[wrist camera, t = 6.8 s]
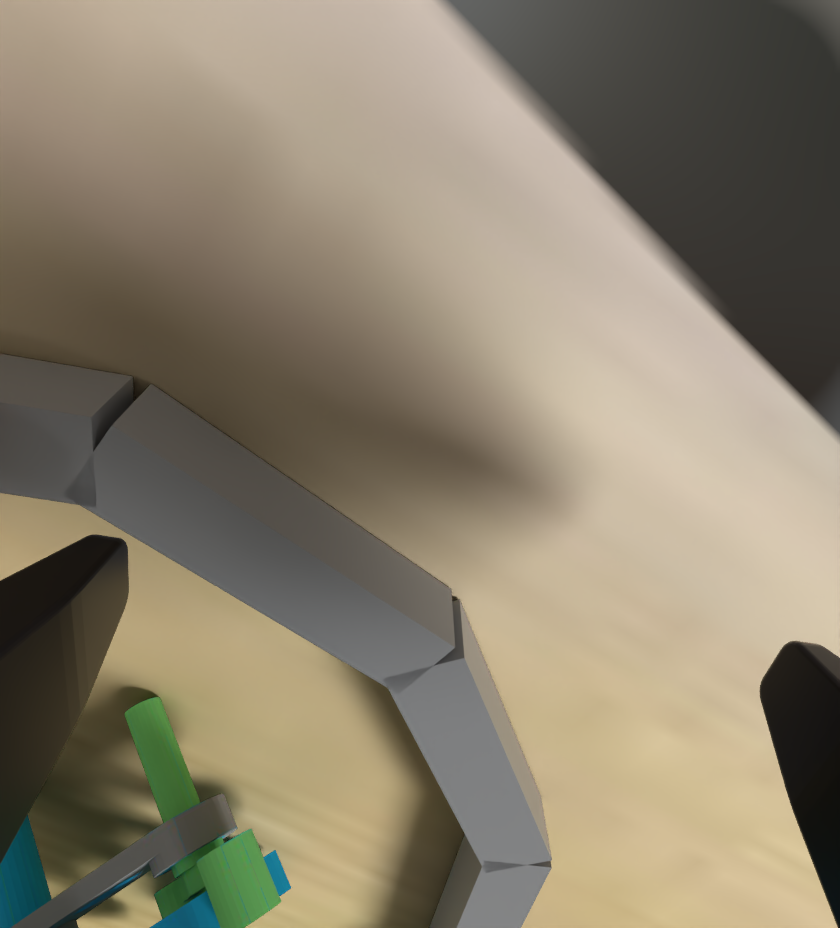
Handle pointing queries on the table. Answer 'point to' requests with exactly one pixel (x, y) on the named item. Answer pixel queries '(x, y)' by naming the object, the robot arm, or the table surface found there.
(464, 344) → the table surface
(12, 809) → the robot arm
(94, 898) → the blue spiky figure
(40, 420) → the ring
